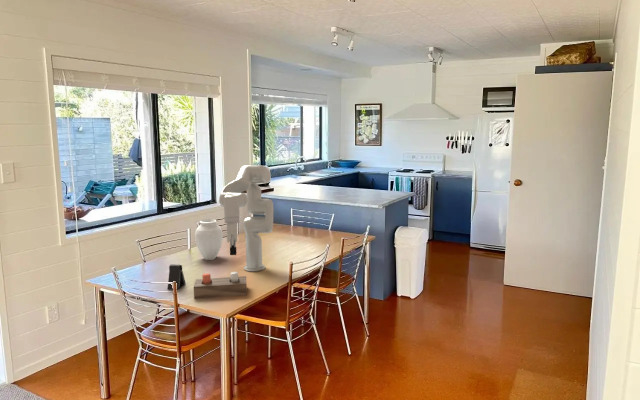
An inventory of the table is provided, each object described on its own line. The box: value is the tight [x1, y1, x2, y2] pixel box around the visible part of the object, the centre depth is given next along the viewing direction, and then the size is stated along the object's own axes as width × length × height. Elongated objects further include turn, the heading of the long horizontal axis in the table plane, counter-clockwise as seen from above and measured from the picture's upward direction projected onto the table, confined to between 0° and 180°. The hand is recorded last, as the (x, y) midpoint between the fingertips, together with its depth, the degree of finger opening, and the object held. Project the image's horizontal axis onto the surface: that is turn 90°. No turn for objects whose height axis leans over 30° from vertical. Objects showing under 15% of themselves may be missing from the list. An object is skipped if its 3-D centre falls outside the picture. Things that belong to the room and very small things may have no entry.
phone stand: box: [167, 264, 186, 290], centre depth 248 cm, size 9×6×12 cm, turn 170°
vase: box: [194, 218, 224, 261], centre depth 300 cm, size 18×18×25 cm
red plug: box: [202, 273, 212, 284], centre depth 237 cm, size 4×4×6 cm
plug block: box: [193, 275, 248, 299], centre depth 239 cm, size 12×26×6 cm, turn 99°
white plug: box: [230, 271, 239, 282], centre depth 240 cm, size 4×4×6 cm
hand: (233, 254), depth 237 cm, fingers closed
